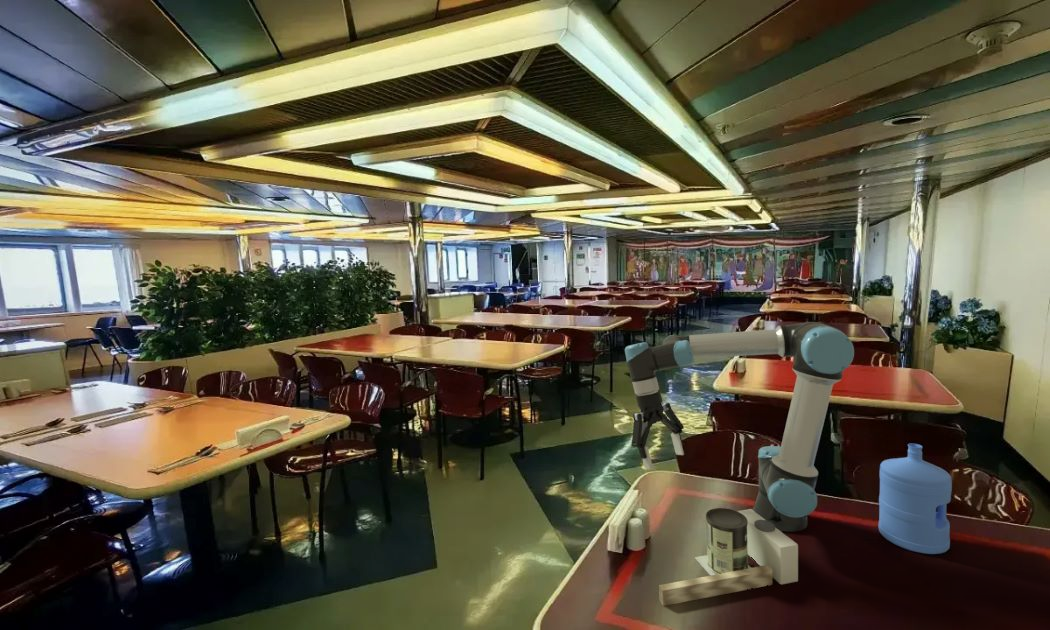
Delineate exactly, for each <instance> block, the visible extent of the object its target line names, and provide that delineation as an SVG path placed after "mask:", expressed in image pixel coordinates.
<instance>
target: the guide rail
mask: <svg viewBox="0 0 1050 630" xmlns="http://www.w3.org/2000/svg"><path fill="white" fill-rule="evenodd" d="M767 585H768V586H772V585H773V577H772V569H771V568H770V567H768V566H767V565H764V566H760V565H759V566H754V567H751V568H748V569H743V570H738V571H732V572H727V573H722V574H716V575H711V576H710V575H706V576H701V577H695V578H690V579H685V580H680V581H674V582H668V583H664V584H659V585H658V593H659V594H658V595H659V596H658V597H659V598H658V599H659V602H660V603H661V605H662V606H663V607H665V606H669V605H675V604H679V603H680V604H681V603H685V602H690V601H696V600H700V599H706V598H712V597H717V596H721V595H726V594H731V593H738V592H742V591H748V590H752V589H751V588H753V589H757V588H761V587H766V586H767ZM747 589H748V590H747Z"/></svg>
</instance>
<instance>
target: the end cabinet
mask: <svg viewBox="0 0 1050 630" xmlns="http://www.w3.org/2000/svg"><path fill="white" fill-rule="evenodd" d="M736 511H737V512H739V513H741V514H743V515H744V516H745V517H746V518H747V521H748V525H747V548H748V556H749V558H751V557H752V558H753V559H754V560H755V561H756V563H757V564H758V565H759V566H764V565H767V566H768V567H770V568H771V569H772V579H774V580H775V581H776V582H777V583H778V584H780V585H786V584H791V583H792V584H793V583H795V582H796V583H797V582H799V545H798V543H797V542H795V541H794V540H793V539H792V538H790V537H789V536H787V535H786V534H785V533H783V531H779V530H778V529H777V528H775V525H774V524H773V523H771V522H769V521H766V520H765V519H764V518H762V517H761V516H760V515H758V514H757V513H756V512H754V511H753V508H749V509H743V510H736ZM752 558H751V559H752ZM694 559H695V561H697V562H698V564H699V565H700V566H701V568H703V569H704V571H705V572H707V574H708V576H711V575H716V574H715V573H713V572H712V571H711V570H710V569H709V567H708V564H707V561H708V558H707V554H706V555H700V556H695V557H694ZM753 559H752V560H753ZM754 560H753V561H754ZM755 561H754V562H755ZM748 568H752V567H751V566H750V565H749V564H748Z"/></svg>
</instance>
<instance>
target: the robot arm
mask: <svg viewBox="0 0 1050 630" xmlns="http://www.w3.org/2000/svg"><path fill="white" fill-rule="evenodd" d="M854 347H855V346H854V344H853V342H852V341H851V339H850V338H849V336H848V335H847V334H845V333H844V332H843V331H842V330H840V329H838V328H836V327H833V326H830V325H827V324H826V323H823V322H817V321H807V322H800V323H793V324H786V325H785V324H784V325H778V326H776V328H774V329H761V330H748V331H736V332H735V331H732V332H720V333H719V332H717V333H706V334H705V333H704V334H691V335H676V334H672V335H671V334H670V335H668V336H666V337H665V338H664V339H663V340H662V342H661V344H659V345H657V346H656V345H655V346H649V344H648V343H647V342H646V341H644V342H639V343H635V344H634V343H633V344H630V345H627V346H625V348H624V354H625V358H626V359H625V361H626V363H627V368H628V371H629V375H630V379H631V383H632V387H633V390H634V391H633V392H634V394H635V395H636V396H635V399H636V403H637V407H638V408H639V409H640V412H639V413H638V412H637V413H635V412H634V413H632V419H633V426H632V427H633V428H632V436H631V437H632V438H631V447H633V448H636V449H638V452H639V456H640V459H642V462H643V466H644V469H645V470H646V469H647V470H653V469H654V467H653V461H652V460H651V459H652V458H651V456H650V455H651V454H650V450H649V447H648V446H646V444H647V441H648V438H649V435H650V430H651V428H652V427H653V425H655V424H656V423H660V422H661V424H662V425H664V426H665V427H666V428H667V429H668V430H669V431H671V432H672V433H670V437H671V440H672V444H673V448H674V451H675V455H677V456H684V455H685V452H684V449H683V439H682V435H681V434H682V433H683V429H684V428H685V426H684V425H683V423H682V422H681V421H680V419H679V418H678V416H677V415H676V413H675V412H674V410H673V409H672V406H671V404H670V402H664V401H663V397H662V393H661V392H660V391H659V390H660V386H659V382H658V379H657V374H656V372H660V371H665V370H670V369H674V368H680V367H682V368H683V367H685V366H688V365H693V363H694V361H695V360H694V359H700V358H701V359H702V358H703V359H704V358H723V357H739V356H740V357H741V356H759V355H763V356H764V355H779V356H780V357H781V358H787V357H792V358H794V360H793V364H792V368H791V369H792V371H793V372H794V373H795V375H796V379H795V383H794V384H795V385H794V388H793V393H792V396H791V401H790V406H789V409H788V414H787V418H786V422H785V428H784V432H783V434H782V435H783V436H782V441H781V445H780V446H777V445H776V446H774V445H768V446H762V447H760V448H759V449H758V456H757V458H758V494H757V495H756V499H755V502H754V504H753V506H752V510H753V511H754V512H756V513H757V514H758V515H760V516H761V517H762V518H764V519H765V520H766V521H769V522H771V523H773V524H774V525H775V528H777V529H778V530H779V531H781V532H790V533H795V532H800V531H803V530H805V529H806V528H807V527H808V515H811V514H812V513H813V512H814V511H815V509H816V508H817V506H818V495H817V493H816V491H815V488H816V485H817V481H818V476H819V471H818V469H817V468H816V467H815V465H814V464H815V461H816V456H817V452H818V448H819V444H820V440H821V437H822V436H821V435H822V432H823V427H824V423H825V419H826V415H827V412H828V407H829V404H830V399H831V395H832V390H833V387H834V385H835V384H837V383H838V382H841V381H842V379H843V375H844V371H845V370H846V369H847V368H849V366H850V365H851V364H852V362H853V360H854V358H855V357H854V356H855V348H854Z"/></svg>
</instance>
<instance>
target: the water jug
mask: <svg viewBox="0 0 1050 630" xmlns="http://www.w3.org/2000/svg"><path fill="white" fill-rule="evenodd" d="M907 447H908V449H907V456H905V457H897V458H889V459H884V460H883V461H881V463H880V465H879V496H878V505H879V510H878V513H879V515H878V517H879V520H878V531H879V533H880V534H881V535H882V537H884V539H886V540H887V541H889V542H890V543H892V544H894V545H896V546H897V547H900V548H903V549H904V550H905V549H906V550H908V551H911V552H915V553H919V554H926V555H938V554H943V553H946V552H947V551H948V550H949V549H950V546H951V539H950V534H951V533H950V531H951V530H950V529H951V528H950V527H951V526H950V525H951V523H950V521H949V520H948V519H947V504H949V503H950V502H951V499H952V497H951V496H952V491H953V483H952V476H951V474H950V473H948V472H947V471H946V470H945V469H943V468H942V467H939V466H937V465H935V464H933V463H930V462H928V461H925V460H923V451H922V450H923V446H922V445H921V444H918V443H911V442H910V443H908V444H907Z"/></svg>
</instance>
